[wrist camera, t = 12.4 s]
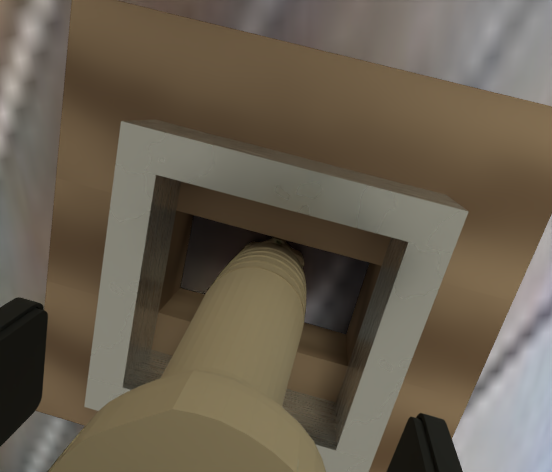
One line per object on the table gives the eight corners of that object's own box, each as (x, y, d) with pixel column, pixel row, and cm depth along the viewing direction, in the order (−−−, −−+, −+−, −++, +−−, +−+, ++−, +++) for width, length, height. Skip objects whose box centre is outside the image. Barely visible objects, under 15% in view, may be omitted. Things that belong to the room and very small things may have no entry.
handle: (352, 249, 21) (387, 542, 7) (269, 334, 23) (162, 700, 9) (277, 184, 21) (151, 355, 7) (198, 276, 23) (-32, 563, 8)
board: (110, 7, 20) (72, -11, 17) (554, 116, 19) (594, 117, 16) (69, 377, 26) (35, 410, 23) (404, 476, 24) (413, 525, 22)
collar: (155, 119, 18) (121, 121, 15) (446, 194, 17) (468, 211, 14) (117, 367, 21) (84, 406, 18) (357, 437, 21) (361, 489, 18)
